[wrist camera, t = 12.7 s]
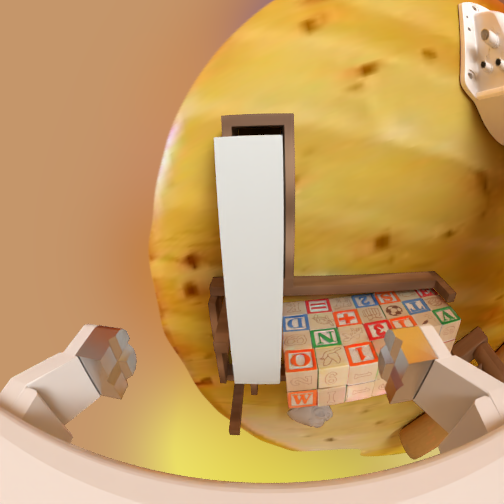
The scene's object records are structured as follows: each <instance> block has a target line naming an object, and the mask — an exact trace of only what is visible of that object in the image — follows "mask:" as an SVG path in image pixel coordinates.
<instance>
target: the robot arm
mask: <svg viewBox="0 0 504 504" xmlns="http://www.w3.org/2000/svg"><path fill="white" fill-rule="evenodd" d="M458 8H459V20H460V38H461V71H460V82H461V86H462V88H463V89H464V91H465V92H466V93H467V94H468V96H469V97H470V98H471V99H472V100H473V102H474V103H475V105H476V107H477V109H478V111H479V114H480V116H481V118H482V120H483V122H484V124H485V126H486V128H487V129H488V131H489V132H490V134H491V135H492V136H493V137H494V139H495V140H496V141H498V142H499V143H500V144H502V145H503V146H504V13H501V12H497V11H490V10H488V9H486V8H484V7H482V6H480V5H478V4H475V3H471V2H464V3H461V4H459V6H458ZM468 75H469V76H468ZM469 77H470V78H469ZM129 339H130V338H129V336H128V333H127V331H126V330H124V329H121V328H113V327H107V326H100V325H99V326H98V325H92V324H86V325H84V326H83V328H82V329H81V330H80V331H79V333H78V334H77V335H76V337H75V338H74V339H73V341H72V342H71V343H70V344H69V346H68V347H67V348H66V350H65V351H64V352H63V353H58V354H56V355H54V356H52V357H50V358H48V359H46V360H44V361H43V362H41V363H39V364H37V365H35V366H33V367H31V368H30V369H28V370H26V371H24V372H22V373H20V374H18V375H16V376H14V377H13V378H11V379H10V380H9V382H8V383H7V385H6V386H5V387H4V389H3V390H2V392H1V393H0V504H504V383H502V382H501V381H499V380H497V379H496V378H494V377H492V376H491V375H489V374H487V373H485V372H484V371H482V370H480V369H479V368H477V367H475V366H473V365H472V364H470V363H468V362H466V361H465V360H463V359H461V358H460V357H458V356H456V355H454V356H452V355H451V354H450V352H449V350H448V349H447V347H446V346H445V344H444V343H443V341H442V339H441V338H440V336H439V335H438V333H437V332H436V330H435V329H434V327H433V326H432V325H431V324H429V323H428V324H422V325H416V326H410V327H403V328H395V329H388V330H387V332H386V333H385V337H384V341H385V343H386V345H385V346H384V347H383V348H382V349H381V350H380V353H379V356H378V370H379V374H380V377H381V378H382V379H383V380H385V381H386V382H387V383H386V386H385V391H386V394H387V397H388V400H389V403H390V404H393V403H399V402H405V401H410V400H413V401H414V402H415V403H416V404H417V405H418V406H419V407H420V408H421V409H422V410H424V411H425V412H426V413H427V414H428V415H429V416H430V417H431V418H432V419H433V420H435V421H436V422H437V423H438V424H439V425H440V426H441V427H442V428H443V429H444V430H446V431H447V432H448V433H449V434H448V435H447V436H446V437H445V438H444V440H443V441H442V442H441V443H440V445H439V446H438V448H439V451H440V454H438V455H435V456H432V457H429V458H427V459H424V460H420V461H417V462H413V463H410V464H407V465H403V466H400V467H395V468H392V469H387V470H383V471H378V472H374V473H369V474H364V475H358V476H352V477H345V478H338V479H331V480H322V481H311V482H294V483H245V482H244V483H243V482H229V481H217V480H208V479H200V478H193V477H186V476H181V475H175V474H169V473H165V472H160V471H155V470H150V469H147V468H143V467H139V466H135V465H131V464H128V463H124V462H121V461H118V460H114V459H111V458H108V457H105V456H102V455H99V454H96V453H94V452H91V451H88V450H85V449H83V448H80V447H78V446H75V445H73V444H71V443H70V442H71V440H72V438H73V437H72V434H71V433H70V432H69V431H68V429H67V428H66V427H65V426H64V425H65V424H67V423H68V422H69V421H70V420H72V419H73V418H74V417H75V416H77V415H78V414H79V413H80V412H82V411H83V410H84V409H85V408H87V407H88V406H89V405H90V404H92V403H93V402H94V401H95V400H97V399H98V398H99V397H100V395H102V396H107V397H112V398H117V399H122V397H123V395H124V393H125V390H126V388H127V386H128V383H127V380H126V379H128V378H129V377H131V376H132V375H133V373H134V371H135V369H136V362H137V361H136V354H135V351H134V349H133V348H132V347H131V346H130V345H129V344H128V341H129Z"/></svg>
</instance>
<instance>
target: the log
mask: <svg viewBox="0 0 504 504" xmlns="http://www.w3.org/2000/svg"><path fill="white" fill-rule="evenodd" d="M496 354H497V356H498V357H499V358H500V360H501V361H502V362H503V364H504V344H503V345H502V346H501V347H500V349H499V350H498V351H497V352H496ZM482 371H483V370H482ZM448 434H449V433H448V432H447V431H446V430H444V429H443V428H442V427H441V426H440V425H439V424H438V423H437V422H436V421H435V420H433V419H432V418H431V417H430V416H429V415H428V414H427V413H424V414H423V415H422V416H420V417H419V418H417V419H416V420H414V421H413V422H411V423H410V424H409V425H407V426H406V427H404V428H403V429H402V430H401V431H400V440H401V443H402V445H403V447H404V449H405V451H406V453H407V454H408V455H409V457H410V458H412V459H417V458H419V457H421V456H423V455H425V454H426V453H428V452H430V451H431V450H433V449H435V448H436V447H438V446H439V445H440V443H441V442H442V441H443V440H444V438H445V437H446V436H447V435H448Z"/></svg>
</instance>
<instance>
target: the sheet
mask: <svg viewBox="0 0 504 504" xmlns="http://www.w3.org/2000/svg"><path fill="white" fill-rule="evenodd" d="M214 151H215V169H216V185H217V200H218V214H219V228H220V241H221V253H222V265H223V276H224V287H225V298H226V308H227V318H228V328H229V337H230V346H231V355H232V364H233V372H234V381H235V384H280V369H281V344H282V311H283V253H284V195H283V138H282V135H250V136H229V137H214Z"/></svg>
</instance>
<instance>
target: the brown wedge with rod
mask: <svg viewBox="0 0 504 504" xmlns="http://www.w3.org/2000/svg"><path fill="white" fill-rule="evenodd" d="M450 354H451V355H452V356H454V355H456V356H458V357H460V358H461V359H463V360H465V361H466V362H468V363H469V362H470V361H472V360H473V359H474V358H475V360H476V361H477V363H478V364H479V365H478V366H477V368H479V369H480V370H483V371H484V372H485V373H487V374H489V375H491V376H492V377H494V378H496V379H497V380H499V381H501V382H502V383H504V364H503V362H502V361H501V360H500V358H499V357H498V356H497V354H496V353H495V352H494V350H493V349H492V348H491V346H490V345H489V344H488V338H487V336H486V335H485V334H484V332H483V331H482V330H481V329H480V328H479V327H477V328H475V329H474V330H473V331H472V332H470V333H469V334H468V335H466V336H465V337H464V338H463V339H461V340H460V341H458V342H457V343H456V344H454V345H453V347H452V350H451V353H450Z"/></svg>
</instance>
